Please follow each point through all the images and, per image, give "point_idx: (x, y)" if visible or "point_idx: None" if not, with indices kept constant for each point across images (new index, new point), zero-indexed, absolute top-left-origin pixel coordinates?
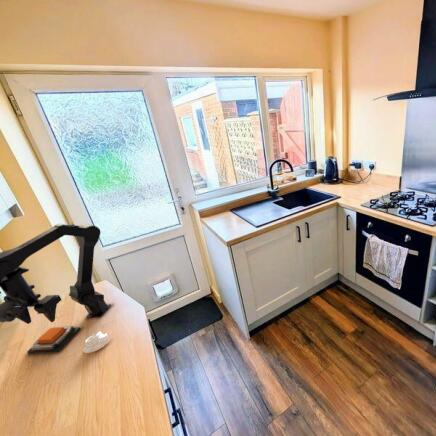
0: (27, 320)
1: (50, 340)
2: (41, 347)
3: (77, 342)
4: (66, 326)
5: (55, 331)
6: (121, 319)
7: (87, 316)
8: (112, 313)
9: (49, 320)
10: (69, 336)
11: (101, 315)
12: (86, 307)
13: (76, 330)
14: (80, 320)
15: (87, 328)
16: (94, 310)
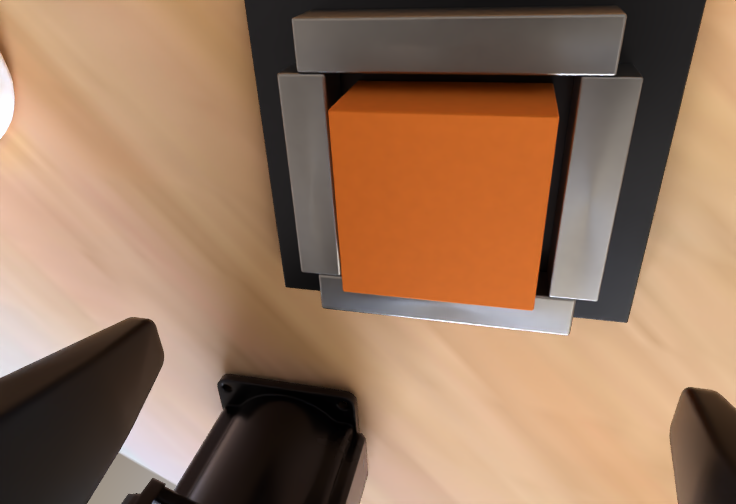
0: (706, 476)
1: (349, 104)
2: (441, 15)
3: (169, 110)
4: (386, 309)
5: (388, 238)
6: (21, 308)
7: (342, 400)
8: (158, 384)
9: (97, 348)
10: (283, 183)
11: (218, 382)
12: (314, 494)
13: (282, 252)
14: (398, 374)
15: (232, 268)
16: (233, 440)
